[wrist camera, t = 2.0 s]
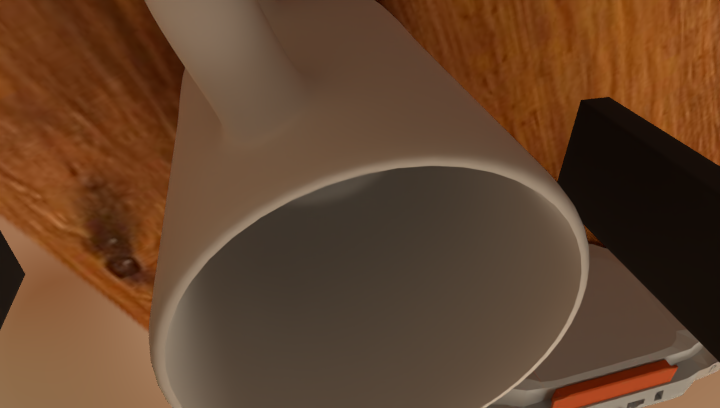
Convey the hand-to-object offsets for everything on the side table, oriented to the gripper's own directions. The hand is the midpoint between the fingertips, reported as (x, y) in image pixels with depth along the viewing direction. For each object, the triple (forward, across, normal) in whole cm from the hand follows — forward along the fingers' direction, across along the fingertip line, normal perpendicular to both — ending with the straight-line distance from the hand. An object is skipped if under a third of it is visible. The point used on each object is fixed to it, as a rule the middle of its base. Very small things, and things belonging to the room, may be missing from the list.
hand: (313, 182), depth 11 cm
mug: (+8, 0, 0) cm, 8 cm away
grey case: (+8, +12, -12) cm, 19 cm away
